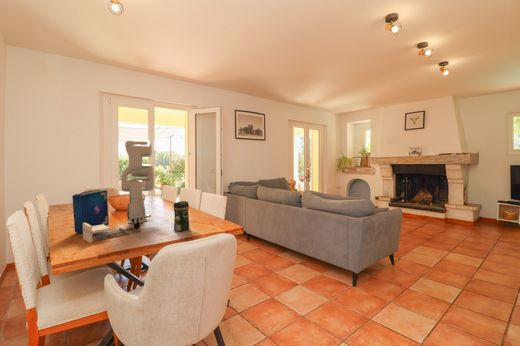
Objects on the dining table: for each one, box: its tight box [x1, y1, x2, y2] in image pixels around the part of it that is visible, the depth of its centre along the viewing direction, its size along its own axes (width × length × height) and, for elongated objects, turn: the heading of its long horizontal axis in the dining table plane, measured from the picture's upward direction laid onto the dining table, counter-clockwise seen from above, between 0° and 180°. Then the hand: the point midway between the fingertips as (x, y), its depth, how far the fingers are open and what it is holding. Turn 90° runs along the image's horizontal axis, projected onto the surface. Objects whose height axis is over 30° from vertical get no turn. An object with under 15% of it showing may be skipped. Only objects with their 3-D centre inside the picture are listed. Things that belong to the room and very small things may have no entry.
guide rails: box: [108, 226, 142, 239], centre depth 158 cm, size 18×10×1 cm, turn 138°
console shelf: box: [82, 223, 111, 244], centre depth 147 cm, size 10×12×9 cm
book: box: [71, 189, 110, 234], centre depth 166 cm, size 22×7×25 cm, turn 168°
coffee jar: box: [173, 200, 190, 232], centre depth 165 cm, size 10×8×19 cm
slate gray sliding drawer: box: [93, 227, 126, 242], centre depth 152 cm, size 16×7×3 cm, turn 138°
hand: (136, 228), depth 164 cm, fingers closed
